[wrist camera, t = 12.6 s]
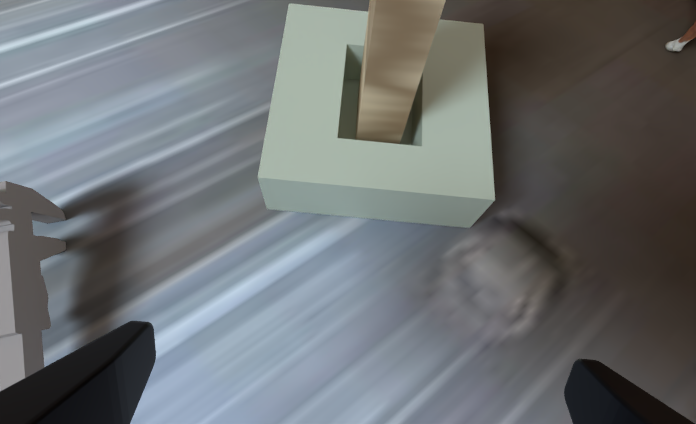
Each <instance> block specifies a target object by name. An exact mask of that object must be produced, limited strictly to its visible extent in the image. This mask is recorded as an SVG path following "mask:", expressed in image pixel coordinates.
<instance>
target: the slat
mask: <svg viewBox="0 0 696 424" xmlns="http://www.w3.org/2000/svg"><path fill="white" fill-rule="evenodd" d="M445 1H446V0H370V3H369V11H368V19H367V27H366V35H365V43H364V50H363V58H362V66H361V74H360V82H359V90H358V104H357V120H356V136H355V140H362V141H373V142H383V143H393V144H400V141H401V138H402V135H403V132H404V129H405V126H406V122H407V119H408V116H409V113H410V110H411V107H412V104H413V101H414V97H415V94H416V91H417V88H418V85H419V82H420V79H421V76H422V72H423V69H424V66H425V63H426V60H427V57H428V54H429V51H430V47H431V44H432V41H433V38H434V35H435V32H436V29H437V26H438V22H439V19H440V16H441V13H442V10H443V7H444V4H445Z"/></svg>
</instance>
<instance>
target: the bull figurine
mask: <svg viewBox="0 0 696 424" xmlns="http://www.w3.org/2000/svg"><path fill="white" fill-rule="evenodd" d="M694 38H696V21H695V23H694V25H693V26H692V27H690V29H689V30H688V31H687V32H686V34H685V35H684V36H683V37H681V38H679V39H677V40H675V41H671V42H667V43H666V44H665V48H666V49H667V50H668V51H672V52H675V51H677V52H679V51H681V50H682V48H683V47H684V45H685V44H686V43H688V42H689V41H690V40H692V39H694Z"/></svg>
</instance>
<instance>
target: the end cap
mask: <svg viewBox="0 0 696 424" xmlns="http://www.w3.org/2000/svg"><path fill="white" fill-rule="evenodd" d="M367 19H368V12H365V11H355V10H346V9H337V8H327V7H318V6H308V5H299V4H289V7H288V12H287V18H286V24H285V29H284V35H283V40H282V46H281V51H280V57H279V62H278V68H277V73H276V79H275V84H274V90H273V96H272V101H271V107H270V112H269V118H268V123H267V129H266V134H265V140H264V145H263V151H262V156H261V162H260V168H259V173H258V180H259V184H260V187H261V190H262V194H263V197H264V201H265V204H266V208H267V209H270V210H281V211H292V212H302V213H313V214H324V215H335V216H345V217H356V218H367V219H377V220H388V221H399V222H409V223H420V224H431V225H441V226H452V227H463V228H470V227H471V226H472V225H473V224H474V223H475V222H476V221H477V219H478V218H479V217H480V216H481V215H482V214H483V213H484V212H485V211H486V210H487V208H488V207H489V206H490V205H491V204H492V203H493V202H494V201H495V191H494V176H493V161H492V146H491V131H490V116H489V101H488V86H487V71H486V56H485V41H484V26H483V24H478V23H469V22H459V21H450V20H440V19H439V22H438V26H437V29H436V32H435V35H434V38H433V41H432V44H431V47H430V51H429V54H428V57H427V60H426V63H425V66H424V69H423V72H422V76H421V79H420V82H419V85H418V88H417V91H416V94H415V97H414V101H413V104H412V107H411V110H410V113H409V116H408V119H407V122H406V126H405V129H404V132H403V135H402V138H401V141H400V144H393V143H383V142H373V141H362V140H355V136H356V120H357V104H358V90H359V82H360V74H361V66H362V58H363V50H364V43H365V35H366V27H367Z"/></svg>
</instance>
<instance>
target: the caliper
mask: <svg viewBox="0 0 696 424" xmlns="http://www.w3.org/2000/svg"><path fill="white" fill-rule="evenodd" d="M32 220H34V221H39V222H43V223H47V224H48V223H53V222H59V221H64V220H66V219H65V215H64V213H63V210H61V209H60V208H59V207H57V206H56V205H55V204H53V203H52V202H51V201H49V200H48V199H46V198H45V197H43V196H42V195H40V194H39V193H38V192H36V191H35V190H33V189H31V188H28V187H24V186H21V185H17V184H14V183H10V182H7V181H4V182H0V391H2V390H3V389H5V388H7V387H9V386H11V385H13V384H15V383H16V382H18V381H20V380H22V379H24V378H26V377H28V376H29V375H31V374H33V373H35V372H37V371H39V370H41V369H42V368H44V358H43V345H42V333H41V330H45V329H49V328H50V327H51V322H50V317H49V313H48V307H47V306H48V293H47V290H46V286H45V282H44V279H43V276H42V275H41V268H40V261H41V260H43V259H46V258H48V257H51V256H53V255H56V254H58V253H61V252H63V251H65V250H66V241H60V240H59V239H56V238H50V237H44V236H35V235H33V226H32Z"/></svg>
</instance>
